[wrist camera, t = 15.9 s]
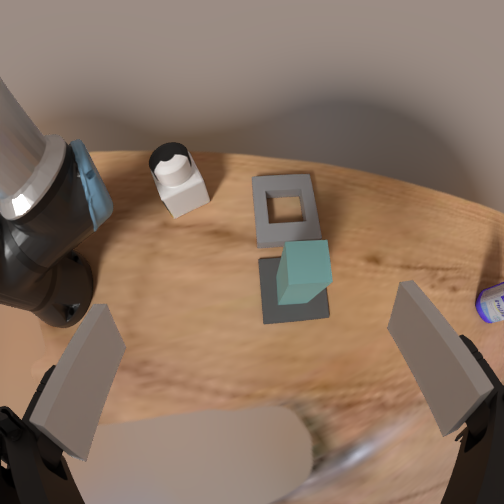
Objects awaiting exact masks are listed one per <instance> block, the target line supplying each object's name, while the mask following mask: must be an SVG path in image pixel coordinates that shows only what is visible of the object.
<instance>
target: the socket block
mask: <svg viewBox="0 0 504 504" xmlns="http://www.w3.org/2000/svg"><path fill="white" fill-rule="evenodd" d="M252 189H253V201H254V212H255V224H256V236H257V248H269V247H283V246H284V244H285V242H291V241H313V240H321V239H322V236H321V230H320V224H319V219H318V213H317V208H316V203H315V198H314V193H313V188H312V183H311V178H310V174H293V175H272V176H256V177H252ZM296 196H299V198H300V204H301V210H302V216H303V222H289V223H274V224H269V221H268V212H267V202H266V198H278V197H296Z"/></svg>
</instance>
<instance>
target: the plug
mask: <svg viewBox="0 0 504 504" xmlns="http://www.w3.org/2000/svg"><path fill="white" fill-rule="evenodd" d="M276 280H277V296H278V305H287V304H302V303H308V302H309V301H310V300H311V299H313V298H314V297H315V296H316V295H317V294H319V293H320V292H321V291H322V290H323V289H325V288H326V287H327V286H328V285H329V284H331V283H332V282H333V281H332V272H331V264H330V256H329V249H328V242H327V240H313V241H291V242H285V244H284V248H283V252H282V256H281V260H280V264H279V268H278V272H277V276H276Z"/></svg>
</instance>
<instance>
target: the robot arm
mask: <svg viewBox="0 0 504 504" xmlns="http://www.w3.org/2000/svg"><path fill="white" fill-rule="evenodd" d="M112 212H113V202H112V199H111V197H110V195H109V193H108V191H107V189H106V186H105V184H104V182H103V180H102V178H101V176H100V174H99V172H98V170H97V168H96V166H95V165H94V163H93V161H92V159H91V157H90V155H89V153H88V151H87V149H86V147H85V145H84V144H83V142H82V141H81V140H80V139H77V140H75V141H72V142H71V143H70V144H69V145H68V144H67V143H66V142H65V141H64V139H63V138H62V137H61V136H60V135H56V134H53V135H45V136H44V135H43V134H42V133H41V132H40V130H39V129H38V128H37V127H36V125H35V124H34V123H33V122H32V120H31V119H30V118H29V116H28V115H27V114H26V112H25V111H24V110H23V108H22V107H21V106H20V104H19V103H18V102H17V100H16V99H15V98H14V96H13V95H12V93H11V92H10V91H9V89H8V88H7V86H6V85H5V84H4V82H3V80H2V79H1V77H0V304H4V305H7V306H11V307H15V308H19V309H23V310H27V311H31V312H32V313H34V314H35V315H36V316H37V317H39V318H40V319H41V320H42V321H44V322H45V323H47V324H48V325H51V326H54V327H60V328H67V327H70V326H73V325H74V324H76V323H77V322H78V321H79V320H80V319H81V318H82V317H83V316H84V314H85V312H86V311H87V309H88V306H89V304H90V301H91V297H92V291H93V278H92V272H91V269H90V266H89V264H88V262H87V260H86V259H85V258H84V257H83V256H82V255H81V254H80V253H78V252H76V251H75V250H73V249H74V248H75V247H76V246H78V245H79V244H80V243H81V242H82V241H84V240H85V239H86V238H87V237H88V236H90V235H91V234H92V233H93V232H95V231H97V229H98V227H99V226H100V225H101V224H103V223H104V222H105V221H106V220H107V219H108V218H109V217H110V216H111V214H112ZM387 329H388V330H389V332H390V334H391V336H392V337H393V339H394V341H395V342H396V344H397V346H398V348H399V350H400V351H401V353H402V355H403V357H404V359H405V360H406V362H407V364H408V366H409V368H410V370H411V372H412V373H413V375H414V377H415V379H416V381H417V383H418V385H419V387H420V389H421V391H422V393H423V395H424V397H425V399H426V401H427V403H428V405H429V407H430V409H431V411H432V413H433V416H434V418H435V420H436V422H437V424H438V426H439V429H440V431H441V433H442V435H443V437H444V436H446V435H448V434H450V433H452V432H454V431H456V430H458V429H459V428H460V427H461V425H462V424H463V423H464V422H466V424H467V427H466V428H465V429H464V430H463V431H462V432H461V433H460V434H459V435H458V436H457V437H456V439H455V441H458V440H459V439H460V438H461V437H462V436H463V437H462V439H461V440H460V442H461V445H460V449H459V453H458V456H457V460H456V463H455V466H454V469H453V472H452V475H451V478H450V481H449V484H448V486H447V489H446V491H445V494H444V496H443V499H442V501H441V504H504V386H503V385H502V383H501V382H500V381H499V379H498V378H497V376H496V375H495V373H494V372H493V370H492V369H491V367H490V366H489V364H488V363H487V361H486V360H485V359H483V356H482V354H481V353H480V352H478V349H477V348H476V346H475V345H474V344H473V342H472V341H471V340H469V339H468V338H467V337H465V336H464V335H460V336H458V335H457V333H456V332H455V331H454V329H453V328H452V327H451V325H450V324H449V323H448V322H447V320H446V319H445V318H444V317H443V315H442V314H441V313H440V312H439V310H438V309H437V308H436V307H435V305H434V304H433V303H432V302H431V301H430V299H429V298H428V297H427V296H426V295H425V294H424V292H423V291H422V290H421V289H420V288H419V287H418V286H417V284H416V283H415V282H414V281H413V280H411V281H405V282H400V283H399V287H398V291H397V295H396V299H395V303H394V306H393V310H392V314H391V317H390V321H389V324H388V327H387ZM125 349H126V346H125V344H124V342H123V340H122V337H121V335H120V333H119V331H118V329H117V327H116V324H115V322H114V320H113V317H112V315H111V313H110V310H109V308H108V306H107V304H93V306H92V307H91V309H90V310H89V312H88V314H87V315H86V317H85V318H84V320H83V321H82V323H81V324H80V326H79V328H78V329H77V331H76V333H75V334H74V336H73V337H72V339H71V341H70V342H69V344H68V346H67V348H66V349H65V351H64V353H63V354H62V356H61V358H60V360H59V362H58V363H57V365H53V366H52V367H51V368H50V369H49V370H48V371H47V372H46V373H45V374H44V376H43V378H42V380H41V382H40V383H41V384H39V386H38V388H37V392H35V394H34V395H33V398H32V400H31V402H30V404H29V406H28V408H27V410H26V412H25V414H24V416H23V418H22V420H21V419H20V418H19V417H18V416H17V415H16V414H15V413H14V412H13V411H12V410H11V409H10V408H9V407H6V406H2V407H0V504H85V503H84V501H83V499H82V497H81V495H80V492H79V490H78V488H77V486H76V484H75V482H74V479H73V477H72V475H71V472H70V470H69V467H68V465H67V462H66V460H65V458H64V456H62V452H63V451H65V452H66V453H67V454H68V455H70V456H71V457H74V458H76V459H79V460H82V461H85V462H86V461H87V458H88V454H89V450H90V447H91V444H92V441H93V437H94V434H95V431H96V428H97V425H98V422H99V419H100V416H101V413H102V410H103V407H104V404H105V401H106V398H107V396H108V393H109V390H110V387H111V385H112V382H113V379H114V377H115V374H116V372H117V369H118V366H119V364H120V361H121V359H122V356H123V354H124V352H125ZM1 460H2V461H4V462H5V463H7V468H4V467H3V466H1Z"/></svg>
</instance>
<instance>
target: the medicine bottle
mask: <svg viewBox="0 0 504 504" xmlns="http://www.w3.org/2000/svg"><path fill="white" fill-rule="evenodd" d="M149 167H150V169H151V173H152V176H153V179H154V181H155V184H156V187H157V189H158V192H159V195H160V197H161V200H162V201H163V203H164V205H165V206H166V208H167V209H168V211H169V212H170V214H171V215H172V217H173V218H174V219H176V218H178V217H180V216H182V215H184V214H186V213H188V212H190V211H192V210H194V209H196V208H198V207H200V206H203V205H205V204H207V203H209V202H210V198H209V195H208V192H207V189H206V186H205V183H204V180H203V178H202V176H201V174H200V172H199V170H198V168H197V166H196V164H195V162H194V160H193V158H192V156H191V154H190V152H189V151H187V149H186V147H185V146H184V145H182V144H180V143H175V142H172V143H166V144H163V145H161V146H160V147H158V148H157V149H156V150H155V151H154V152H153V153H152V155H151V157H150V159H149Z"/></svg>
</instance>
